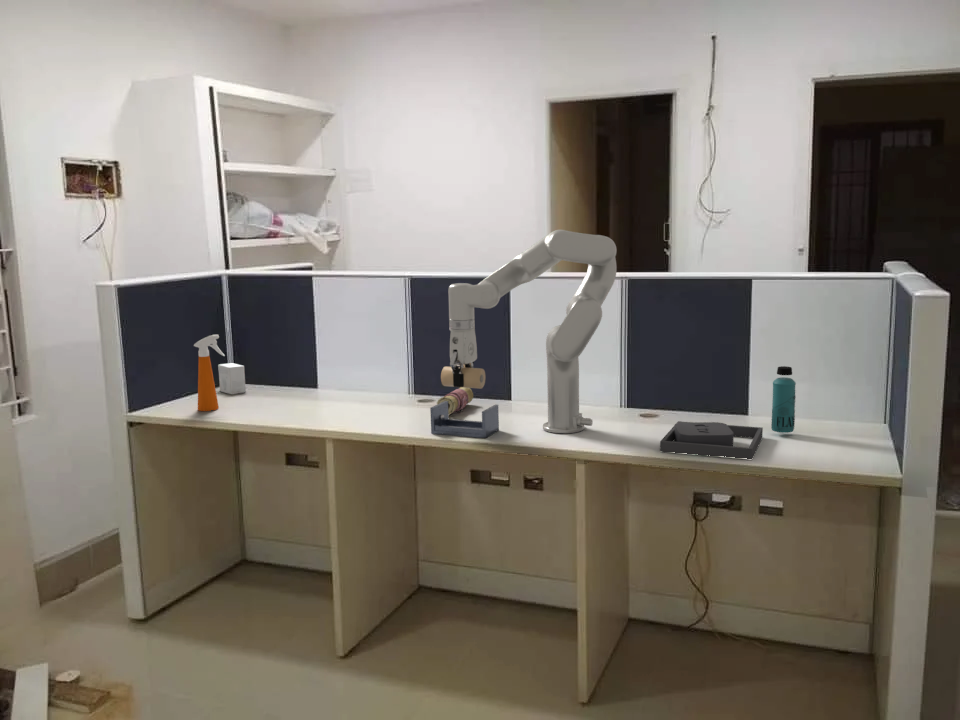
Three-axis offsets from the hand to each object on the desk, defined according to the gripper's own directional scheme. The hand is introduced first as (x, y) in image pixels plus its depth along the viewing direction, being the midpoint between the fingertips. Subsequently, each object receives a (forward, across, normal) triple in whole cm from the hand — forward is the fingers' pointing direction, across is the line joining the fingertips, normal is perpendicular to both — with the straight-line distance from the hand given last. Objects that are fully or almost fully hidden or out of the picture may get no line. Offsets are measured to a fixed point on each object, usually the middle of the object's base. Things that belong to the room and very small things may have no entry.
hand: (463, 384), depth 260 cm
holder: (+15, 0, 0) cm, 15 cm away
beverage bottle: (+15, +26, -89) cm, 94 cm away
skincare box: (+15, +28, +112) cm, 116 cm away
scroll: (+15, +25, +14) cm, 33 cm away
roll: (+1, 0, 0) cm, 1 cm away
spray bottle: (+15, +1, +98) cm, 99 cm away
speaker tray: (+15, +9, -72) cm, 74 cm away
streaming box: (+15, +7, -70) cm, 72 cm away
